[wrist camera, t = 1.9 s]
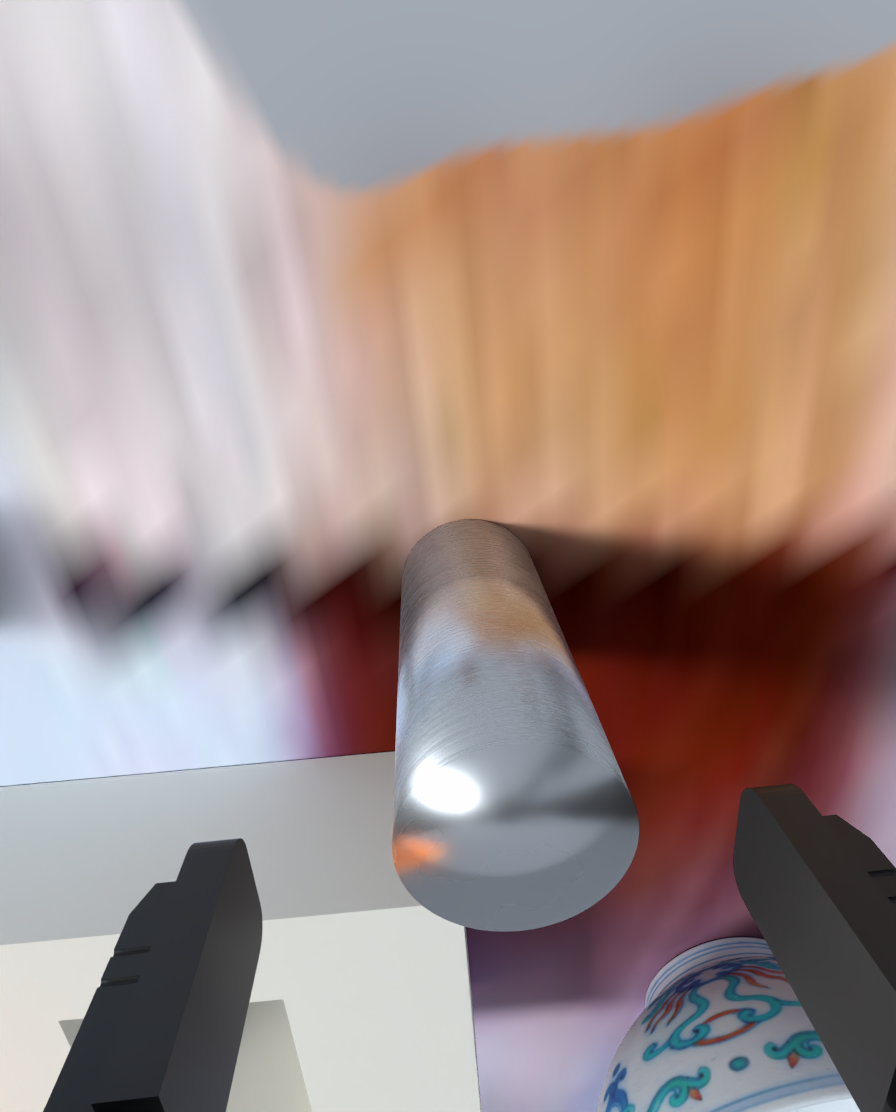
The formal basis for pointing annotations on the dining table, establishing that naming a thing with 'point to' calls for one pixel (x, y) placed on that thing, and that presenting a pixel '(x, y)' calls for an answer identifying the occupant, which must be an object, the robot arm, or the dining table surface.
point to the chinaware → (723, 1041)
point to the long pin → (498, 744)
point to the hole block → (287, 932)
